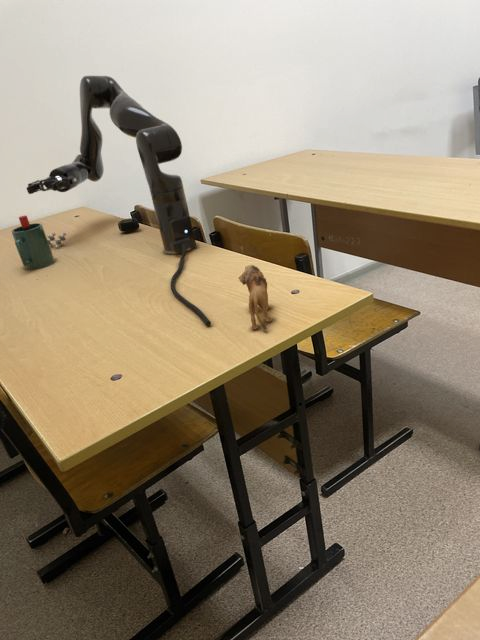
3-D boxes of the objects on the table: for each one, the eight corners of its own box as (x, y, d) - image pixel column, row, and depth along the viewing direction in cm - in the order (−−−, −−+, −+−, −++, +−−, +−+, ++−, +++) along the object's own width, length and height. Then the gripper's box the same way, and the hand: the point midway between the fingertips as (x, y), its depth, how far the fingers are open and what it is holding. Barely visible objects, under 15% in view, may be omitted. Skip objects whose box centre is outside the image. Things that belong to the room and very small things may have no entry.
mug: (33, 261, 166) (20, 225, 161) (59, 257, 165) (46, 221, 160) (14, 275, 155) (-1, 237, 150) (41, 272, 154) (27, 234, 149)
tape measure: (140, 230, 178) (138, 220, 177) (121, 235, 177) (118, 224, 175) (138, 226, 184) (135, 216, 182) (119, 231, 183) (116, 220, 181)
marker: (43, 261, 161) (27, 216, 154) (36, 263, 160) (19, 218, 153) (42, 259, 163) (25, 215, 156) (34, 262, 162) (17, 217, 155)
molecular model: (31, 251, 177) (26, 236, 175) (38, 246, 181) (33, 232, 179) (67, 248, 174) (62, 233, 172) (73, 244, 177) (68, 229, 175)
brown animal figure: (242, 305, 111) (235, 265, 107) (267, 300, 112) (261, 260, 108) (253, 335, 99) (245, 290, 94) (281, 329, 99) (274, 284, 95)
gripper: (43, 168, 175) (15, 179, 161) (82, 163, 172) (57, 173, 158) (50, 191, 179) (24, 203, 165) (89, 186, 176) (65, 198, 162)
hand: (40, 189), depth 162 cm, fingers open, 8 cm apart
